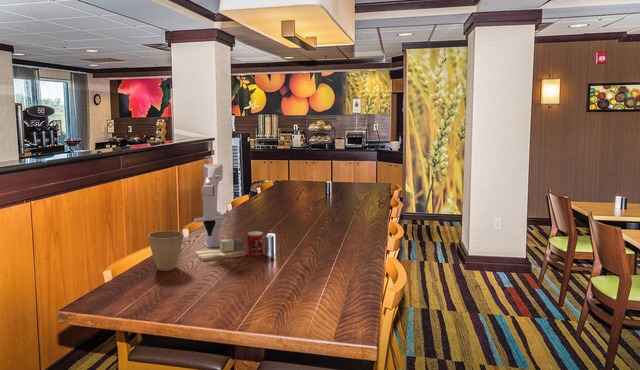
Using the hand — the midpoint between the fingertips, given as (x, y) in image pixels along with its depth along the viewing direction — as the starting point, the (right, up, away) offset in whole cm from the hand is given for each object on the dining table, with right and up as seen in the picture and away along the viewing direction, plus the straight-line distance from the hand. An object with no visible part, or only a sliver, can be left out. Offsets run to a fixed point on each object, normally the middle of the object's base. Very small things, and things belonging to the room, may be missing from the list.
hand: (209, 235), depth 248 cm
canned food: (+23, -10, +1) cm, 25 cm away
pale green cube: (+9, -7, +1) cm, 11 cm away
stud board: (+5, -10, 0) cm, 11 cm away
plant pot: (-14, -13, -23) cm, 30 cm away
